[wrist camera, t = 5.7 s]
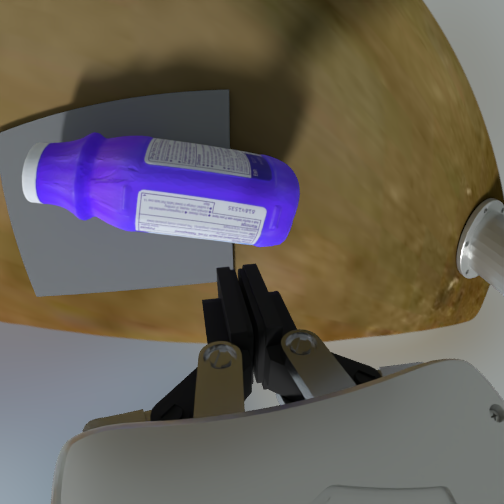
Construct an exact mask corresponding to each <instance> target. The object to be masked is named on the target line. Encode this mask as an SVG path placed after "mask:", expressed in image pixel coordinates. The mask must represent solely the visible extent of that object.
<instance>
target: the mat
mask: <svg viewBox="0 0 504 504" xmlns="http://www.w3.org/2000/svg"><path fill="white" fill-rule="evenodd" d="M94 132H96V133H100V134H101V135H102V136H104V137H105V138H108V139H109V138H115V137H121V136H150V137H152V138H158V139H166V140H173V141H180V142H188V143H195V144H202V145H208V146H214V147H220V148H226V149H230V128H229V90H204V91H188V92H176V93H166V94H157V95H149V96H141V97H134V98H128V99H122V100H116V101H111V102H105V103H100V104H95V105H91V106H86V107H82V108H78V109H74V110H70V111H66V112H62V113H58V114H55V115H51V116H48V117H44V118H41V119H38V120H35V121H31V122H28V123H25V124H22V125H20V126H17V127H14V128H11V129H9V130H6V131H3V132H1V133H0V175H1V180H2V186H3V191H4V195H5V200H6V204H7V209H8V213H9V217H10V220H11V224H12V228H13V231H14V235H15V238H16V241H17V245H18V248H19V251H20V254H21V257H22V260H23V263H24V265H25V268H26V271H27V274H28V276H29V279H30V281H31V284H32V287H33V289H34V291H35V294H36V296H37V297H38V296H55V295H70V294H84V293H98V292H110V291H123V290H135V289H146V288H157V287H168V286H179V285H189V284H199V283H209V282H217V272H216V268H219V267H230V270H233V250H232V243H231V242H223V241H214V240H206V239H198V238H189V237H181V236H172V235H164V234H155V233H146V232H137V231H132V232H130V231H125V230H122V229H119V228H117V227H114V226H112V225H110V224H108V223H106V222H104V221H103V220H101V219H100V218H98V217H92V218H90V219H88V220H81V219H78V218H77V217H76V216H75V215H74V214H73V213H71V212H70V211H69V210H67V209H65V208H63V207H60V206H56V205H52V204H41V203H33V202H29V201H28V200H27V199H26V197H25V195H24V193H23V188H22V172H23V166H24V162H25V159H26V157H27V155H28V153H29V151H30V149H31V148H32V147H33V146H34V145H35V144H37V143H60V142H70V141H74V140H78V139H81V138H84V137H85V136H87V135H89V134H91V133H94Z"/></svg>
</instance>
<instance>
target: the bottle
mask: <svg viewBox="0 0 504 504" xmlns="http://www.w3.org/2000/svg"><path fill="white" fill-rule="evenodd" d="M22 188H23V193H24V195H25V197H26V199H27V200H28V201H29V202H33V203H41V204H52V205H56V206H60V207H63V208H65V209H67V210H69V211H70V212H71V213H73V214H74V215H75V216H76V217H77V218H78V219H81V220H88V219H90V218H92V217H98V218H100V219H101V220H103V221H104V222H106V223H108V224H110V225H112V226H114V227H117V228H119V229H122V230H125V231H130V232H132V231H137V232H146V233H155V234H164V235H172V236H181V237H189V238H198V239H206V240H214V241H223V242H231V243H239V244H247V245H254V246H257V247H266V246H273V245H279V244H281V243H282V242H283V241H284V240H285V239H286V238H287V236H288V233H289V231H290V229H291V226H292V222H293V218H294V216H295V214H296V210H297V206H298V201H299V195H300V192H299V183H298V180H297V177H296V175H295V173H294V172H293V170H292V169H291V168H290V167H289V166H288V165H287V164H285V163H284V162H282V161H280V160H278V159H276V158H273V157H270V156H267V155H263V154H261V155H258V154H254V153H249V152H244V151H239V150H233V149H226V148H220V147H214V146H208V145H202V144H195V143H188V142H180V141H173V140H166V139H158V138H152V137H150V136H121V137H115V138H109V139H108V138H105V137H104V136H102V135H101V134H100V133H96V132H94V133H91V134H89V135H87V136H85V137H84V138H81V139H78V140H74V141H70V142H60V143H37V144H35V145H34V146H33V147H32V148H31V149H30V151H29V153H28V155H27V157H26V159H25V162H24V166H23V172H22Z"/></svg>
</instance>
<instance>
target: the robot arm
mask: <svg viewBox="0 0 504 504" xmlns="http://www.w3.org/2000/svg"><path fill="white" fill-rule="evenodd" d="M457 267H458V270H459V272H460V273H461V274H462V275H463V276H464V277H466V278H474V277H476V276H478V275H480V276H481V277H482V278H483V279H484V280H486V281H487V282H488V283H489V284H490V285H492V286H493V287H494V288H495V289H496V290H497V291H499V292H500V293H501V294H502V295H503V296H504V205H503V203H502V202H501V201H499V200H497V199H495V198H489V199H486V200H485V201H483V202H482V203H481V204H480V205H479V206H478V207H477V208H476V209H475V210H474V212H473V213H472V215H471V216H470V218H469V219H468V221H467V223H466V225H465V227H464V230H463V232H462V235H461V238H460V241H459V245H458V249H457ZM216 272H217V286H218V298H216V299H207V300H202V303H203V311H204V319H205V327H206V335H207V343H208V345H206V346H205V347H203V349H202V350H201V351H200V354H199V358H198V367H197V368H196V369H195V370H194V371H193V372H191V374H189V375H188V376H187V377H186V378H185V379H184V380H183V381H182V382H181V383H180V384H178V385H177V386H176V387H175V388H174V389H173V390H172V391H171V392H170V393H168V394H167V395H166V396H165V397H164V398H163V399H162V400H160V401H159V402H158V403H157V404H156V405H155V406H154V408H153V409H152V410H149V411H145V412H144V411H143V409H142V410H138V411H133V412H128V413H124V414H119V415H114V416H109V417H104V418H98V419H94V420H92V421H89V422H88V423H87V424H86V425H85V427H84V429H83V433H80V434H78V435H76V436H74V437H73V438H71V439H70V440H68V441H67V442H66V443H65V444H64V446H63V447H62V449H61V451H60V453H59V456H58V458H57V462H56V466H55V471H54V477H53V484H52V497H51V498H52V499H51V504H504V400H503V399H502V398H501V396H500V395H499V394H498V392H497V391H496V390H495V388H494V387H493V386H492V385H491V383H490V382H489V381H488V380H487V379H486V378H485V377H484V375H483V374H482V373H481V372H480V371H479V370H478V369H477V368H475V367H474V366H473V365H472V364H470V363H468V362H467V361H464V360H460V359H441V360H434V361H430V362H426V363H423V362H416V363H409V364H401V365H393V366H385V367H380V368H379V370H376V369H374V368H372V367H370V366H368V365H365V364H362V363H359V362H356V361H353V360H351V359H348V358H345V357H342V356H340V355H337V354H334V353H332V352H330V351H329V349H328V348H327V347H326V346H325V344H324V343H323V342H322V340H321V339H320V338H319V337H318V336H317V335H316V334H315V333H313V332H311V331H308V330H301V329H298V330H297V328H296V326H295V324H294V322H293V320H292V318H291V316H290V314H289V312H288V310H287V308H286V306H285V304H284V301H283V299H282V297H281V295H280V293H279V292H278V291H274V292H268V290H267V288H266V285H265V283H264V281H263V279H262V276H261V274H260V272H259V269H258V267H257V265H256V264H248V265H243V267H242V269H238V278H237V275H236V272H235V269H233V270H230V267H219V268H216ZM253 372H254V375H255V378H256V382H257V383H261V382H262V386H263V389H269V390H271V391H273V392H275V393H276V397H277V400H278V402H279V404H280V405H279V406H274V407H269V408H263V409H258V410H252V411H247V412H245V409H244V401H245V399H246V398H247V397H248V396H249V395H250V394H251V392H252V384H253Z"/></svg>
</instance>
